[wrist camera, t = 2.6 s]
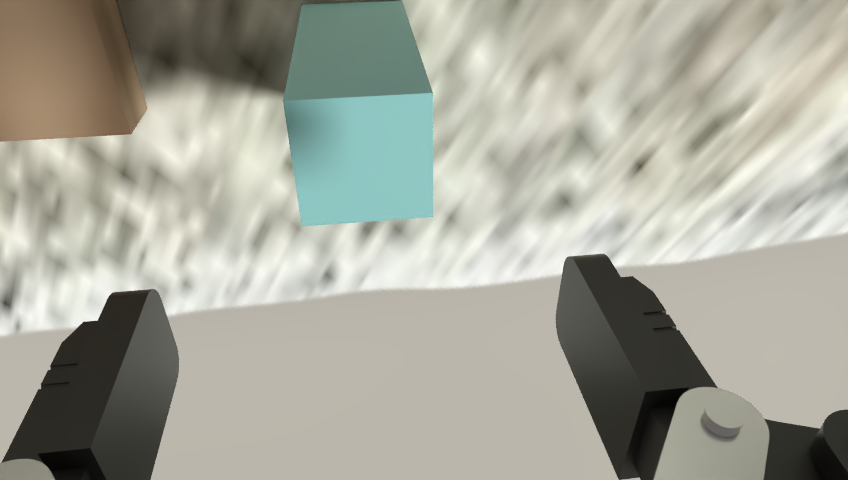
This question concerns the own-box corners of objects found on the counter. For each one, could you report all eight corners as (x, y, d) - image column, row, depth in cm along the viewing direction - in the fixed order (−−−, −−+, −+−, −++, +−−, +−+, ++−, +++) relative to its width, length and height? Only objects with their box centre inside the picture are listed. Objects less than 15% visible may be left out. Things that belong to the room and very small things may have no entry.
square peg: (401, 0, 25) (432, 92, 17) (404, 94, 27) (432, 216, 19) (301, 4, 24) (282, 100, 16) (313, 99, 27) (301, 226, 18)
